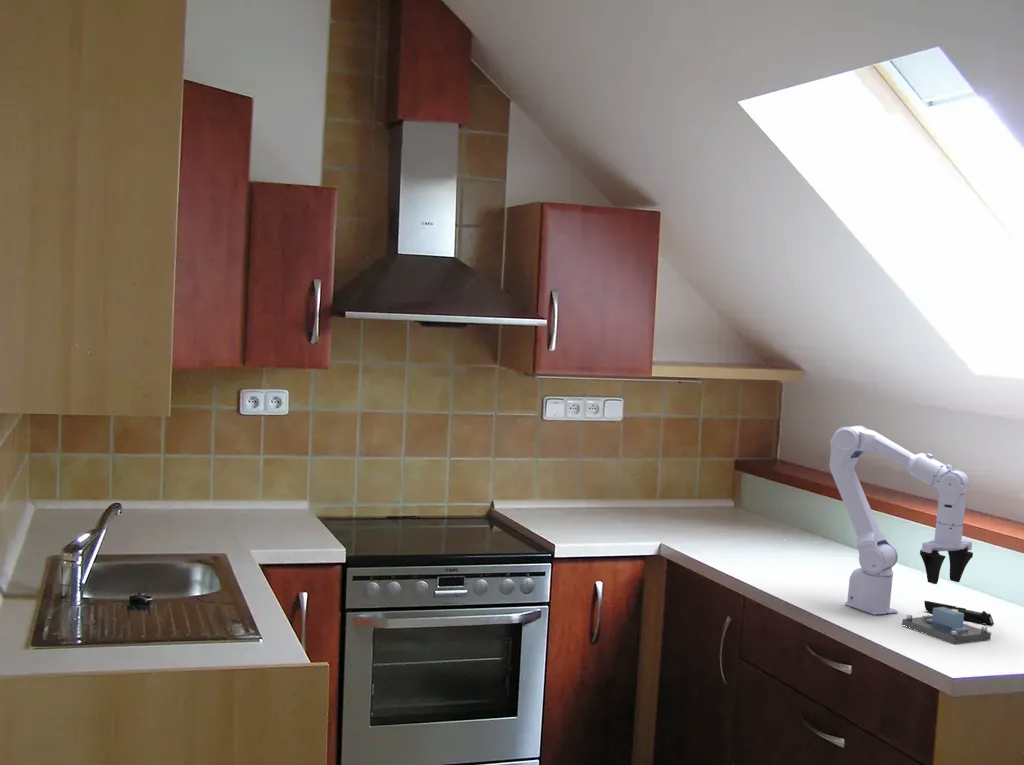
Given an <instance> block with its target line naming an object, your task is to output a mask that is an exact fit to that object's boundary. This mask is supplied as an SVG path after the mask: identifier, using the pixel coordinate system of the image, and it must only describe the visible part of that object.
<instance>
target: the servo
mask: <svg viewBox="0 0 1024 765" xmlns="http://www.w3.org/2000/svg"><path fill="white" fill-rule="evenodd" d="M931 616H932V619H926V622H929V623H931V624H932V625H935V626H938V627H941V628H944V629H947V630H950V631H951V630H955V631H957V632H964V631H968V630H969V629H968V628H965V627H963V624H964V621H965V620H964V613H961V612H958V610H956V609H949V608H946V607H937V608H933V612H932V615H931Z"/></svg>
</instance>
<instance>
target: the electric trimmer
mask: <svg viewBox="0 0 1024 765" xmlns="http://www.w3.org/2000/svg"><path fill="white" fill-rule="evenodd" d="M923 602H924V603H923V604H924V607H925V608H924V609H925V610H926V611H927V612H930V613H933V608H937V607H946V608H949V609H956V610H958V612H961V613H964V619H965V620H964V621H969V622H974V623H977V622H978V623H979V624H982V625H985V626H986V625H990V626H989V627H993V626H994V619H993V617H992V614H991V613H987V612H986V611H985V610H982V612H979V611H974V610H972V609H971V610H970V609H967V608H966V607H965V608H964V607H959V606H955V605H949V604H945V603H939V602H936V601H935V602H934V601H929V600H924V601H923Z"/></svg>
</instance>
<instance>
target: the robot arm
mask: <svg viewBox="0 0 1024 765" xmlns="http://www.w3.org/2000/svg"><path fill="white" fill-rule="evenodd" d="M829 444H830V455H829V456H830V457H829V463H828V464H829V470H830V473H831V475H832V478H833V480H834V482H835V485H836V487H837V491H838V492H839V495H840V497H841V499H842V502H843V504H844V507H845V509H846V512H847V514H848V516H849V519H850V521H851V524H852V526H853V528H854V531H855V533H856V536H857V542H856V548H857V550H858V554H859V555H858V561H859V566H860V567H857V568H855V569H854V570H852V572H851V574H850V577H849V578H848V579H849V580H848V588H847V589H848V591H847V598H846V599H847V601H846V602H844V605H845V606H848V607H852V608H854V609H857V610H860V611H862V612H865V613H868V614H872V615H874V616H876V615H877V614H878V615H885V614H886V615H887V613H888V614H895V613H896V614H897V613H898V610H897V609H894V608H891V599H892V598H891V597H892V596H891V594H892V588H893V586H892V585H893V577H894V571H893V567H894V566H895V565H896V563H897V562H898V556H899V554H898V551H897V549H896V548H895V547H894V546H893V545H892V544H891V543H890V542H889V540H888V538H887V535H885V533H883V531H882V530H880V528H879V525H878V522H877V521H876V517H875V516H874V514H873V511H872V509H871V506H870V503H869V502H868V499H867V497H866V495H865V492H864V490H863V487H862V485H861V482H860V479H859V478H858V475H857V472H856V471H855V466H856V465H857V462H858V460H859V458H860V456H861V455H863V454H864V453H865V452H877V453H879V454H881V455H883V456H885V457H887V458H889V459H891V460H893V461H895V462H897V463H898V464H899V463H900V464H902V465H904V466H905V467H907V469H908V473H909V474H910V475H911V476H913V477H914V478H916V479H918V480H920V481H921V482H924V483H926V484H928V485H929V486H931V487H932V488H936V489H937V491H938V492H939V494H938V495H939V496H938V498H939V499H938V503H937V511H936V520H935V521H936V523H935V529H934V530H935V531H934V539H932V540H930V541H925V542H922V544H921V549H920V551H919V555H920V557H921V558H922V561H923V564H924V568H925V573H926V579H927V583H929V584H932V585H937V584H938V583H939V577H940V572H941V568H942V565H943V564H944V560H945V559H946V555H943V554H940V553H939V552H947V553H948V559H949V580H950V581H951V582H952V581H953V582H955V583H960V582H961V579H962V576H963V574H964V571H965V568H966V567H967V565H968V563H969V562H970V561H971V559H972V558H973V556H974V552H972V549H973V548H972V547H973V542H972V541H969V540H966V539H965V540H963V529H964V521H965V510H966V497H967V494H966V493H967V492H968V491H969V489H970V487H971V480H970V478H969V476H968V475H967V474H966V472H964V470H962V469H953V466H952V465H951V464H944V463H942V462H941V461H939V460H937V459H936V458H933V457H934V455H933V454H931V453H923V452H920V453H917V454H914V453H912V452H911V451H909V450H907V449H905V448H904V447H902V446H901V445H899V444H897V443H896V442H893V441H892V440H890V439H889V438H887V437H886V436H884V435H882V434H881V433H878V432H877V431H875V430H872V429H868V428H866V427H865V426H863V425H860V424H859V425H857V424H856V425H853V426H842V427H839V428H838V429H837V430H835V432H834V434H833V436H832V438H831V439H830V441H829ZM878 615H877V616H878Z"/></svg>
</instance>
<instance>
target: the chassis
mask: <svg viewBox="0 0 1024 765" xmlns="http://www.w3.org/2000/svg"><path fill="white" fill-rule="evenodd" d="M926 619H932V615H930V614H927V615H926V614H925V615H922V616H919V617H918V616H917V617H913V615H910V614H907V615H906V618H902V620H901V621H902V622H901V626H902V625H905V626H907V627H910V628H912V629H911V630H913V629H915V630H914V631H916V630H918V631H917V632H919V631H921V632H923V633H922V634H924V633H926V634H925V635H927V634H928V635H927V636H930V635H931V636H930V637H933V638H935V637H936V639H939V640H941V639H942V641H944V640H945V641H944V642H947V643H949V642H950V644H953V645H957V643H959V644H964V642H967V643H973V641H974V642H981V641H980V640H982V641H989V640H988V639H990V640H991V635H992V632H990V631H988V626H981V628H978V627H975V626H972V625H969V624H966V623H963V627H965V628H968V629H969V630H968V631H964V632H957V631H955V630H951V631H950V630H947V629H944V628H941V627H938V626H935V625H932V624H931V623H929V622H926ZM905 626H904V627H905ZM907 627H906V628H907ZM910 628H909V629H910ZM921 632H920V633H921ZM971 641H972V642H971Z"/></svg>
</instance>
